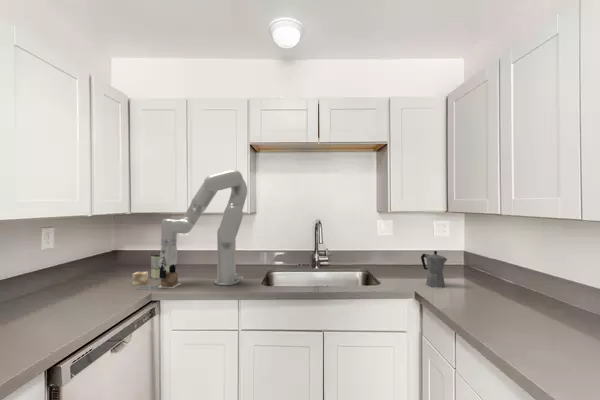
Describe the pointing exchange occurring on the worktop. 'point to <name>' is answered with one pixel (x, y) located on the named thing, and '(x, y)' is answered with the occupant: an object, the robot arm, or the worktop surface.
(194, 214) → the robot arm
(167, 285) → the walnut block
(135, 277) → the maple block
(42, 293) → the worktop surface
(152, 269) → the coffee can
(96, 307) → the worktop surface
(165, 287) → the tile
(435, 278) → the coffeepot
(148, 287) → the slate coaster
